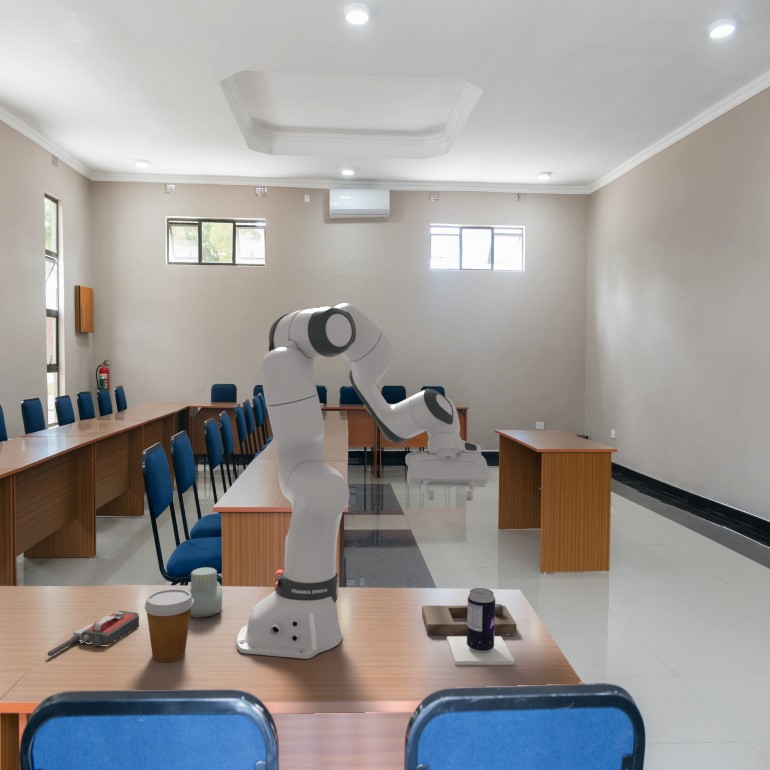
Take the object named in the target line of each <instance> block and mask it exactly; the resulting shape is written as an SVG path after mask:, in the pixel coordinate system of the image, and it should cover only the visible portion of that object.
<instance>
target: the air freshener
mask: <svg viewBox="0 0 770 770" xmlns="http://www.w3.org/2000/svg"><path fill="white" fill-rule="evenodd" d="M217 574H218V570H217V569H215V568H213V567H210V566H209V567H208V566H207V567H199V568H196V569H193V570H192V571H191V573H190V587H189V588H188V589H186V590H187V591H189V592H190V593H191V595H192V598H193V599H194V602H193V604H192V607H191V612H190V617H191V616H192V617H196V618H205V617H210V616H214V615H215V614H218V613H219V612H221V611H222V608H223V607H222V605H223V588H222V587H221V586H219V585H218V576H217Z"/></svg>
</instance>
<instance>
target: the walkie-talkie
mask: <svg viewBox="0 0 770 770" xmlns="http://www.w3.org/2000/svg"><path fill="white" fill-rule="evenodd" d="M139 626H140V614H139V613H138V612H134V611H127V610H118V611H115V612H114V613H112V614H110V615H105V616H103V617H102V618H101V619H99V620H97V621H96V622H93V623H90V624H86V625H85V626H84V627H82V628H80V629H78V630H76V631H73V635H72V637H70V639H68V640H65V641H64V642H63V643H61V644H60V645H58V646H56V647H54V648H53V649H51V650H50V651H48V652H47V656H49V657H52V656H54V655H55V653H56V654H57V653H59V652H60V651H63V650H64V649H66V648H68V647H69V646H71V645H72V644H75V643H77V641H79V640H82V641H81V642H83V643H86V642H87V643H91V642H92V643H91V644H93V645H92V646H94V647H96V646H99V647H102V646H101V645H109V644H111V643H113V642H114V641H115V640H117V639H119V638H120V637H122V636H123V635H125V634H126V635H128V634H129V633H130V632H132V631H133V630H135V629H137V628H139ZM136 627H137V628H136ZM134 628H135V629H134ZM131 630H132V631H131ZM129 631H130V632H129ZM128 632H129V633H128ZM126 635H125V636H126ZM123 637H124V636H123ZM123 637H122V638H123ZM120 639H121V638H120ZM120 639H119V640H120ZM117 641H118V640H117ZM74 642H75V643H74ZM81 642H80V643H81ZM114 643H115V642H114ZM114 643H113V644H114ZM111 645H112V644H111ZM65 647H66V648H65Z"/></svg>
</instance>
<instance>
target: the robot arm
mask: <svg viewBox="0 0 770 770" xmlns="http://www.w3.org/2000/svg"><path fill="white" fill-rule="evenodd" d="M339 355H340V356H341V357H342V358H343V359H344V360H345V361H346V362H347V364H348V365H349V367H350V371H349V376H348V377H349V381H350V384H351V386H352V387H353V390H354V391H355V393H356V394H357V396H358V397H359V399H360V400H361V402H362V403H363V405H364V406H365V407H366V409H367V411H368V412H369V414H370V415H371V416H372V418H373V419H374V421H375V422H376V423H377V426H378V428H379V430H380V433H381V434H382V435H383V437H384V439H386V440H387V441H388V442H391V443H394V444H396V445H397V444H398V445H402V444H403V443H406V442H407V441H409V440H410V439H412V438H413V437H416V436H417V435H420V434H422V433H425V432H426V433H427V437H428V439H427V450H428V451H415V450H414V451H411V452H409V453H406V455H405V457H404V459H405V464H406V466H407V474H406V481H407V483H408V484H409V485H410V486H421V490H422V491H423V492H424V493H425V495H426V500H427V501H434V499H435V494H434V492H435V490H434V489H432V490H431V489H430V487H431V486H432V487H468V489H469V490H466V492H465V501H468V502H469V501H470V502H472V501H473V500H474V492H475V490H476V488H485V487H487V485H488V484H489V482H490V470H489V467H488V464H487V463H488V462H487V460H486V458H485V457H484V455H482V447H481V446H480V445H479V444H476V443H472V442H469V441H466V440H463V439H462V437H461V435H460V432H461V424H460V423H461V422H460V419H459V414H458V411H457V408H456V405H455V403H454V402H453V400H451V399H450V398H448V397H446V395H444V394H442V393H441V392H439V391H437V390H435V389H430V388H426V389H424V390H421V391H420V392H417V393H416V394H415V393H414V394H413V395H411V396H410V397H408V398H405V399H403V400H402V401H399V402H397V403H393V404H391V403H388V402H387V400H386V399H385V398H384V396H383V395H382V393H381V392H380V390H379V389H378V387H377V384H378V382H379V381H380V380H381V379H382V378H383V377H384V375H385V374H386V373H387V372H388V370H389V369H390V365H391V363H392V362H393V358H394V346H393V344H392V342H391V340H390V338H389V337H388V335H387V334H386V333H385V332H384V331H383V329H382V328H380V326H379V325H378V324H377V323H376V322H375V321H374V319H372V318H371V317H369V315H367V314H366V313H365V312H364V311H362V310H361V309H360V308H359V307H357V306H356V305H354V304H352V303H349V302H344V303H339V304H337V305H336V306H322V307H319V308H305V309H304V308H303V309H300V310H297V311H296V310H295V311H294V312H291V313H290V312H289V313H286V314H283V315H282V316H280V317H278V318H277V319H276V320H275V321H274V322H272V325H271V326H270V329H269V333H268V352H267V353H266V354H265V355H264V356H263V359H262V361H261V380H262V390H263V395H264V403H265V405H266V409H267V414H268V418H269V423H270V427H271V432H272V436H273V440H274V441H273V442H274V449H275V461H276V468H277V475H278V478H277V479H278V485H279V489H280V490H281V493H282V495H283V497H285V499H286V500H288V501H289V502H290V505H291V518H290V523H289V528H288V533H287V534H286V536H285V541H284V542H285V543H284V570H283V569H277V571H275V574H274V579H275V580H274V591H273V592H271V593H270V594H269V595H267V596H266V597H264V598H263V599H262V600H260V601H259V602H257V603H256V604H255V606H254V607H253V608H252V610H251V613H250V615H249V618H248V622H247V623H246V624H245V625H244V626H242V627H241V628H240V630H239V632H238V634H237V637H236V643H235V644H236V649H237V651H239V652H240V653H242V654H249V655H260V656H272V657H280V658H281V657H283V658H291V659H292V658H295V659H305V660H307V659H312V658H313V657H315V656H316V655H318V654H319V653H322V652H325V651H328V650H331V649H333V648H335V647H336V646H338V645H339V644H340V643H341V641H342V639H343V634H342V631H341V627H340V621H339V614H338V608H337V607H338V606H337V600H338V597H339V577H338V572H337V545H338V544H337V543H338V534H339V529H340V523H341V519H342V515H343V512H344V510H345V509H346V507H347V506H348V503H349V499H350V487H349V486H348V483H347V482H346V480H345V478H344V476H343V475H342V474H341V472H340V471H339V470H338V469H335V468H334V467H332V466H330V465H329V464H328V463H327V460H326V456H325V455H326V454H325V433H326V426H325V421H324V417H323V416H324V415H323V413H322V412H323V411H322V408H321V404H320V397H319V394H318V391H317V389H318V388H317V386H316V383H315V379H314V376H313V372H314V371H313V369H314V363H315V362H316V361H317V360H322V359H325V358H333V357H336V356H337V357H338V356H339Z"/></svg>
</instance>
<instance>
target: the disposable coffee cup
mask: <svg viewBox="0 0 770 770" xmlns="http://www.w3.org/2000/svg"><path fill="white" fill-rule="evenodd" d="M187 590H188V589H182V588H181V589H180V588H170V589H162V590H159V591H155V592H153V593H151V594H149V595H148V596H147V597H146V601H145V602H144V605H143V606H144V609H145V612H146V617H147V623H148V632H149V639H150V647H151V654H152V659H153V660H154V661H156V662H159V661H160V663H168V662H167V661H169V662H174V661H176V660H180V659H181V658H182V656H183V655H184V656H185V654H186V649H187V641H188V633H189V625H190V617H191V615H190V612H191V607H192V604H193V602H194V599H193V598H192V595H191V593H190V592H189V591H187ZM184 656H183V657H184ZM173 660H174V661H173Z"/></svg>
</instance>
